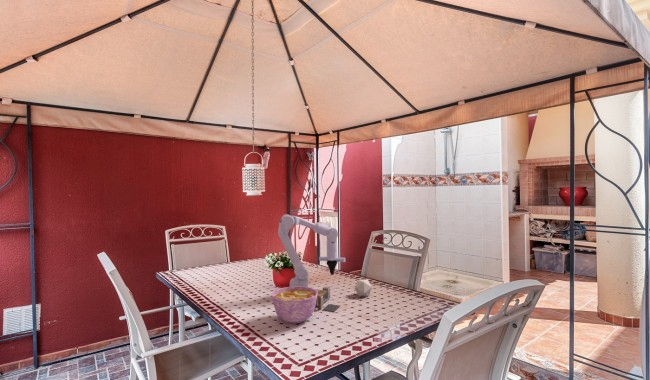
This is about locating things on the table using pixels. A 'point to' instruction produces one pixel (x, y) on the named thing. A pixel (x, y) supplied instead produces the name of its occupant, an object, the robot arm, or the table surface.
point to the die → (363, 288)
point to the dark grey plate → (331, 308)
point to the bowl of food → (294, 303)
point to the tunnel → (320, 294)
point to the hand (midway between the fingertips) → (332, 274)
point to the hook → (325, 296)
